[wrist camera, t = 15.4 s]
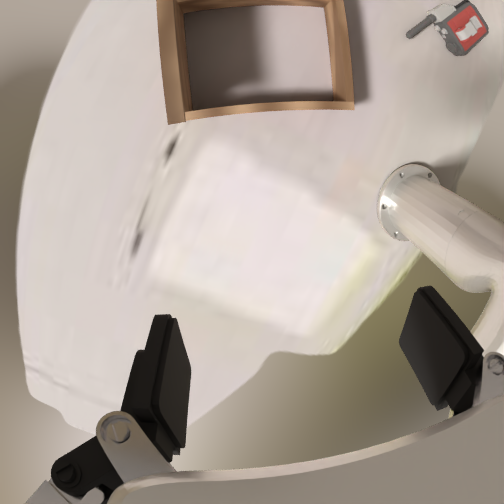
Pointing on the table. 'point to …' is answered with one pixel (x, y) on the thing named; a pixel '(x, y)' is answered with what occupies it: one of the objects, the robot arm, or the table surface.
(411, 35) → the walkie-talkie
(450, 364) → the robot arm
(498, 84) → the table surface
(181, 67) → the wooden drawer
